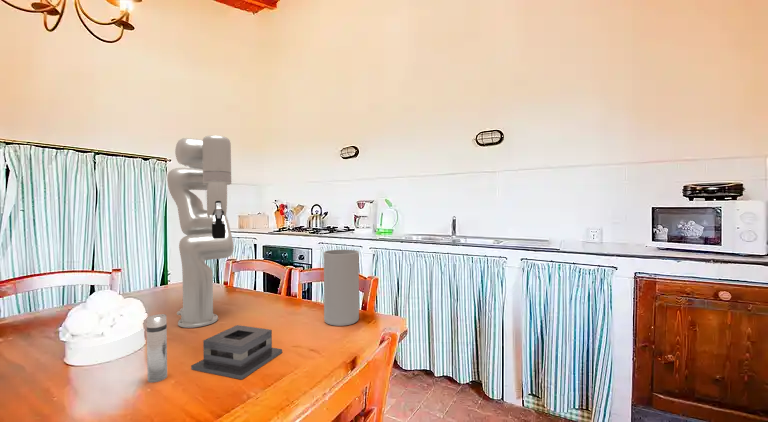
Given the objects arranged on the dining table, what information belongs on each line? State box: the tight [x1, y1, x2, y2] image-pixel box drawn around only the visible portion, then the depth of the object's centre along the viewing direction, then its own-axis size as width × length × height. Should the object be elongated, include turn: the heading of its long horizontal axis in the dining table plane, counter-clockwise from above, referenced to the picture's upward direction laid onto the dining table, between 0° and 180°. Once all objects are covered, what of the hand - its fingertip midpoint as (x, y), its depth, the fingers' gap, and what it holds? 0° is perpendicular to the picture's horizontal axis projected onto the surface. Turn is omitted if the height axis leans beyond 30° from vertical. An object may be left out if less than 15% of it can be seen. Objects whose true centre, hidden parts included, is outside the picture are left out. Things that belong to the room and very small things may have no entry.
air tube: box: [145, 313, 168, 383], centre depth 84 cm, size 4×4×15 cm
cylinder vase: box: [323, 249, 360, 327], centre depth 125 cm, size 12×12×25 cm
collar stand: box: [190, 324, 283, 380], centre depth 93 cm, size 16×16×7 cm
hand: (218, 237), depth 101 cm, fingers open, 9 cm apart
